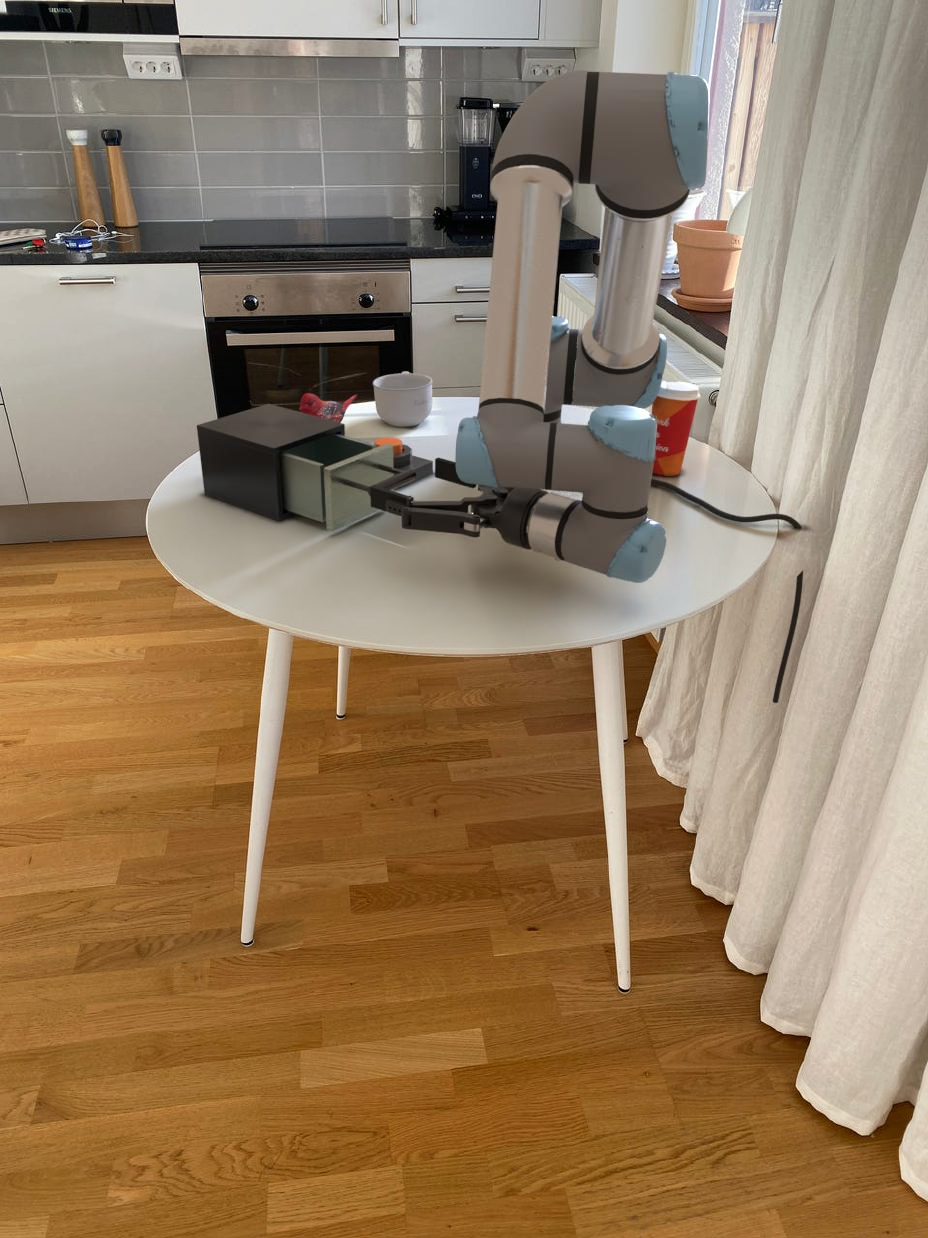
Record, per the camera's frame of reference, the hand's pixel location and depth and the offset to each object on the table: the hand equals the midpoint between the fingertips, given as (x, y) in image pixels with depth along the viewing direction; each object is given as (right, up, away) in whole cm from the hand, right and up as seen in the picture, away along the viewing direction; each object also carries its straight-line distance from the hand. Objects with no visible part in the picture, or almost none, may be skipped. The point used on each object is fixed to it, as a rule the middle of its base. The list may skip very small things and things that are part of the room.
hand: (405, 480), depth 125 cm
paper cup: (+41, +6, +30) cm, 51 cm away
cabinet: (-21, 0, +16) cm, 26 cm away
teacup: (-3, +19, +50) cm, 54 cm away
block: (-4, +5, +25) cm, 26 cm away
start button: (-4, +8, +23) cm, 25 cm away
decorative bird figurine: (-15, +12, +39) cm, 43 cm away
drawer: (-10, -3, +9) cm, 14 cm away
